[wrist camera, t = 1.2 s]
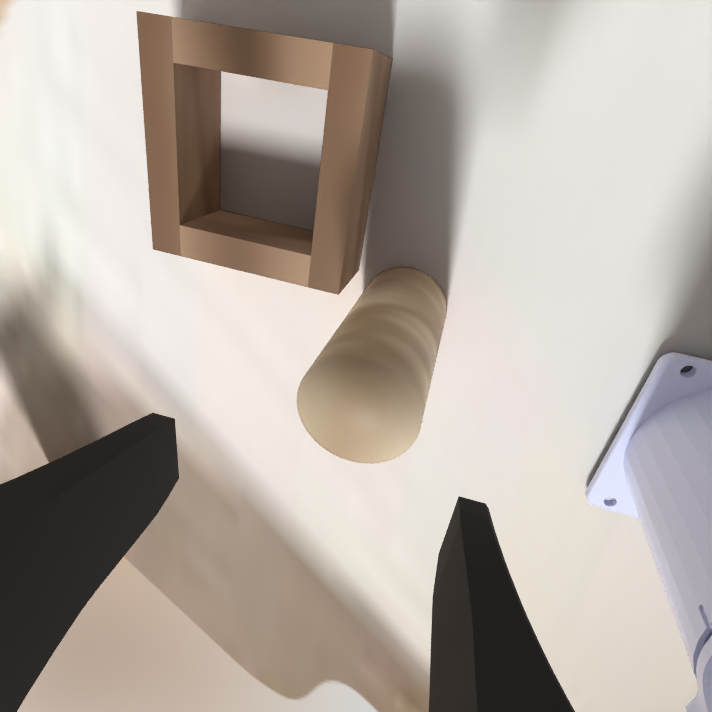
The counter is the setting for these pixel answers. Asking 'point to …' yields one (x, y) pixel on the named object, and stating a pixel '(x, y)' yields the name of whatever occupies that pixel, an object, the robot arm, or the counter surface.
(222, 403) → the counter surface
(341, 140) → the walnut holder
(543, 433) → the counter surface
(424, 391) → the beech peg
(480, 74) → the counter surface
